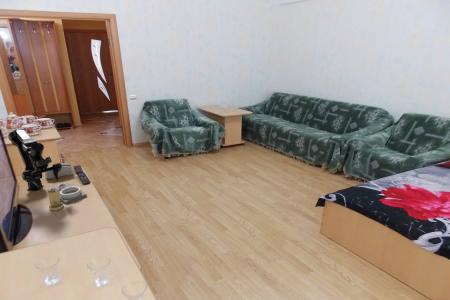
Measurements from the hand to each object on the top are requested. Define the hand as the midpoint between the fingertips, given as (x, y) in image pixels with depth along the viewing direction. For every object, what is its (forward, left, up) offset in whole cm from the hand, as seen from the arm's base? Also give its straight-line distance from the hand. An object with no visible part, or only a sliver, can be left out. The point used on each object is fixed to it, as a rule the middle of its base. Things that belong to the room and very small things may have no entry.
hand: (48, 184), depth 154 cm
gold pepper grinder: (+5, -4, -12) cm, 14 cm away
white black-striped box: (-17, +37, -13) cm, 42 cm away
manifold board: (+2, +12, -12) cm, 17 cm away
